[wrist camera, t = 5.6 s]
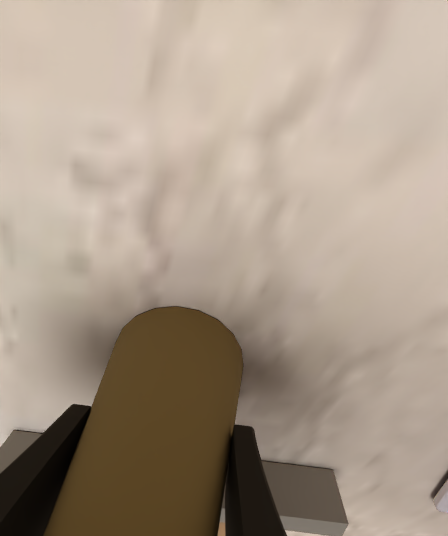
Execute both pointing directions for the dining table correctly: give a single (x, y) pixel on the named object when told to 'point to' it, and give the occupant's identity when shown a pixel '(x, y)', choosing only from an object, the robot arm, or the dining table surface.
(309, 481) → the low wall
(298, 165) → the dining table surface
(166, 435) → the cork
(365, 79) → the dining table surface
